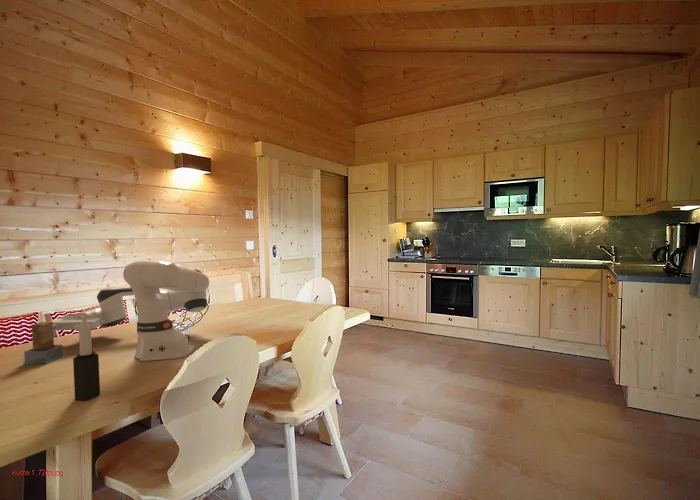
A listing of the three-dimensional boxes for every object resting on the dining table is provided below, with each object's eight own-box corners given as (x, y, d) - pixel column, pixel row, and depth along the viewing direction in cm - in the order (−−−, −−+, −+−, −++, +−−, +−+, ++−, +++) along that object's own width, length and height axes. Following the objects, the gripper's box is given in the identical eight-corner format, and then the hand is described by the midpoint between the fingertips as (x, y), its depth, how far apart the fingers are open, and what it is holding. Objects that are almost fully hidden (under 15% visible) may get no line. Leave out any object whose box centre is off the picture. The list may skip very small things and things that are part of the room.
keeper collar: (63, 356, 147) (62, 344, 146) (46, 363, 138) (45, 351, 138) (42, 356, 146) (41, 344, 146) (23, 364, 138) (23, 351, 137)
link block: (54, 355, 144) (52, 321, 144) (45, 359, 140) (43, 324, 139) (42, 356, 144) (41, 322, 144) (33, 359, 140) (31, 324, 139)
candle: (86, 401, 106) (83, 318, 105) (72, 400, 107) (69, 318, 106) (101, 393, 111) (98, 314, 110) (88, 392, 112) (85, 314, 111)
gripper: (107, 327, 166) (87, 335, 152) (62, 328, 165) (38, 336, 152) (107, 313, 166) (86, 321, 152) (62, 314, 165) (37, 322, 151)
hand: (61, 328), depth 152 cm, fingers open, 8 cm apart
